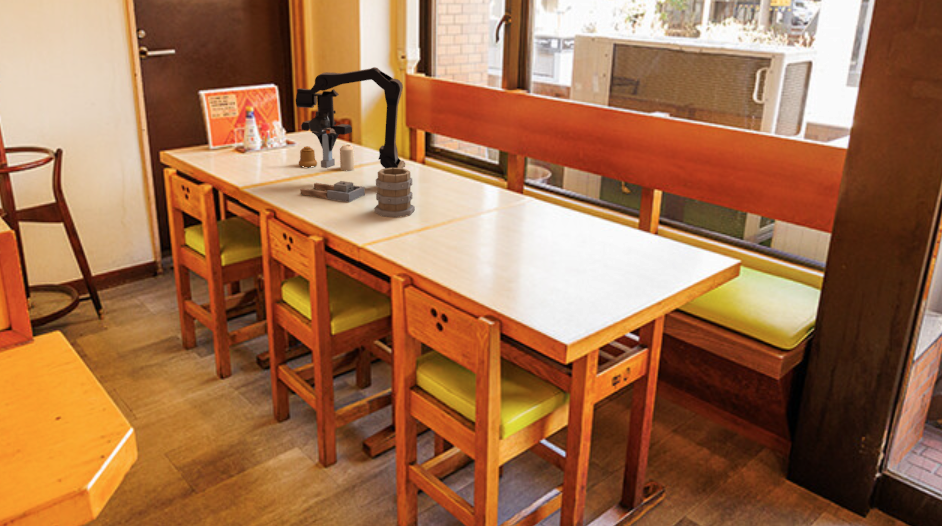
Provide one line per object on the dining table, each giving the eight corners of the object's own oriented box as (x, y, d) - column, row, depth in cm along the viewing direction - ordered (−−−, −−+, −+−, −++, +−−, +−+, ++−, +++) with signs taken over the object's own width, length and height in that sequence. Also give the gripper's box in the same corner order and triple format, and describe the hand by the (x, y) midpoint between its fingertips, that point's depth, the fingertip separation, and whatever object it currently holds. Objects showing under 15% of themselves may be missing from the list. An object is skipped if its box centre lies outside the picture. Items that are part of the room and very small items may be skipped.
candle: (347, 171, 303) (346, 147, 300) (337, 169, 306) (336, 145, 303) (356, 169, 307) (356, 145, 304) (347, 166, 311) (346, 143, 307)
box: (364, 194, 272) (364, 186, 271) (349, 202, 263) (349, 193, 262) (343, 191, 275) (342, 183, 274) (327, 198, 266) (327, 190, 265)
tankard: (407, 218, 247) (407, 174, 242) (370, 215, 250) (369, 171, 244) (423, 202, 266) (423, 160, 260) (388, 199, 268) (388, 158, 263)
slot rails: (341, 191, 275) (341, 186, 275) (326, 198, 267) (326, 193, 266) (316, 187, 279) (316, 182, 279) (300, 194, 271) (300, 189, 270)
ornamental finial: (301, 168, 306) (297, 164, 312) (319, 167, 309) (314, 163, 315) (300, 149, 303) (295, 145, 309) (318, 148, 306) (313, 144, 312)
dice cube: (334, 197, 268) (333, 184, 266) (341, 194, 273) (341, 180, 271) (346, 199, 267) (346, 185, 265) (353, 196, 271) (353, 182, 269)
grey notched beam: (334, 165, 284) (333, 133, 280) (326, 168, 279) (325, 136, 275) (329, 164, 285) (328, 133, 281) (320, 167, 280) (319, 135, 276)
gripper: (291, 109, 271) (293, 152, 276) (335, 114, 264) (337, 157, 270) (308, 105, 280) (310, 146, 286) (352, 109, 274) (353, 151, 279)
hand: (327, 150), depth 280 cm, fingers closed on grey notched beam, 2 cm apart
